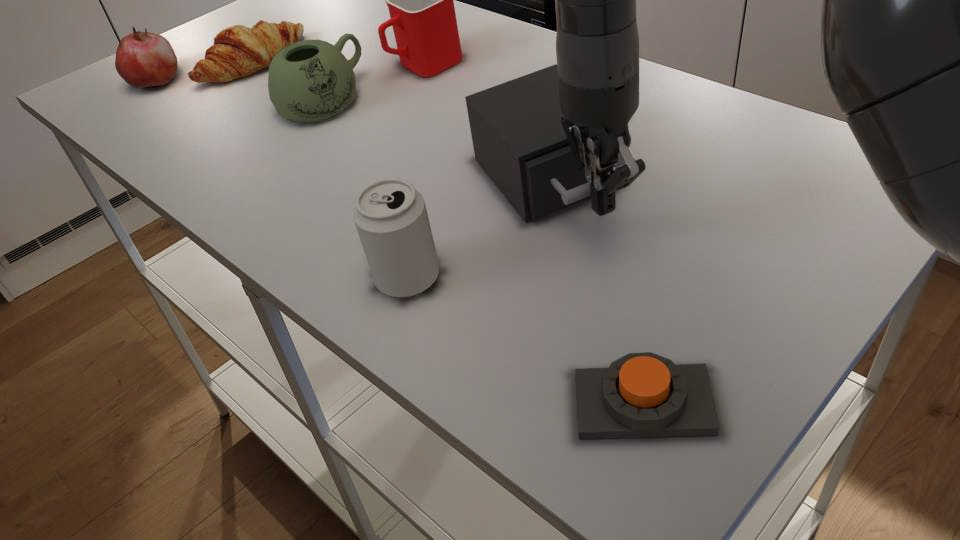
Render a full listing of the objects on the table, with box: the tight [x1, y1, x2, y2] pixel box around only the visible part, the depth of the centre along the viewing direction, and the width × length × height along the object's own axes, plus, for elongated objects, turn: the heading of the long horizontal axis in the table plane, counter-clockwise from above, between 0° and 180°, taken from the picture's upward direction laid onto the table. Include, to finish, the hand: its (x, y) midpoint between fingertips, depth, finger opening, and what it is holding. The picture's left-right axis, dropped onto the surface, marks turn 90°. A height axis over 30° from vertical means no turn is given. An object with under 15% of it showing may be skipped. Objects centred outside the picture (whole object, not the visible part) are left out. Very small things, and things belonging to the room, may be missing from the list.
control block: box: [574, 351, 720, 440], centre depth 68 cm, size 12×7×3 cm, turn 87°
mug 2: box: [377, 0, 463, 78], centre depth 114 cm, size 12×8×11 cm
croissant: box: [187, 19, 305, 84], centre depth 123 cm, size 21×10×8 cm, turn 134°
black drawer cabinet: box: [464, 63, 569, 224], centre depth 91 cm, size 15×13×10 cm
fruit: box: [114, 26, 179, 89], centre depth 121 cm, size 9×10×10 cm
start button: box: [619, 356, 671, 408], centre depth 67 cm, size 4×4×2 cm
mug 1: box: [267, 33, 362, 123], centre depth 111 cm, size 16×13×9 cm
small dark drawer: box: [524, 144, 591, 222], centre depth 89 cm, size 18×11×8 cm, turn 24°
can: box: [352, 177, 440, 298], centre depth 80 cm, size 8×8×12 cm
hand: (603, 210), depth 82 cm, fingers closed
